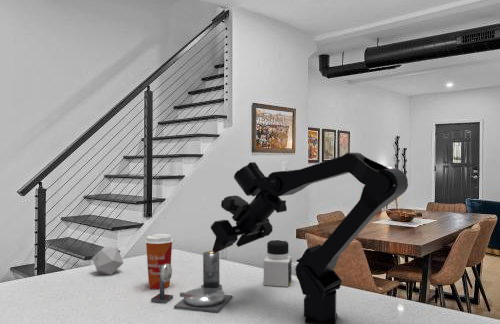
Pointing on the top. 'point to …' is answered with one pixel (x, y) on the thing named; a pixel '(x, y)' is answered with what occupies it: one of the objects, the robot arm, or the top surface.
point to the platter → (203, 297)
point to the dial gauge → (164, 277)
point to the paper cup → (158, 257)
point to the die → (107, 260)
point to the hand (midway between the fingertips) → (225, 248)
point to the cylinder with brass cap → (211, 270)
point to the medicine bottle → (277, 264)
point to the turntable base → (204, 308)
